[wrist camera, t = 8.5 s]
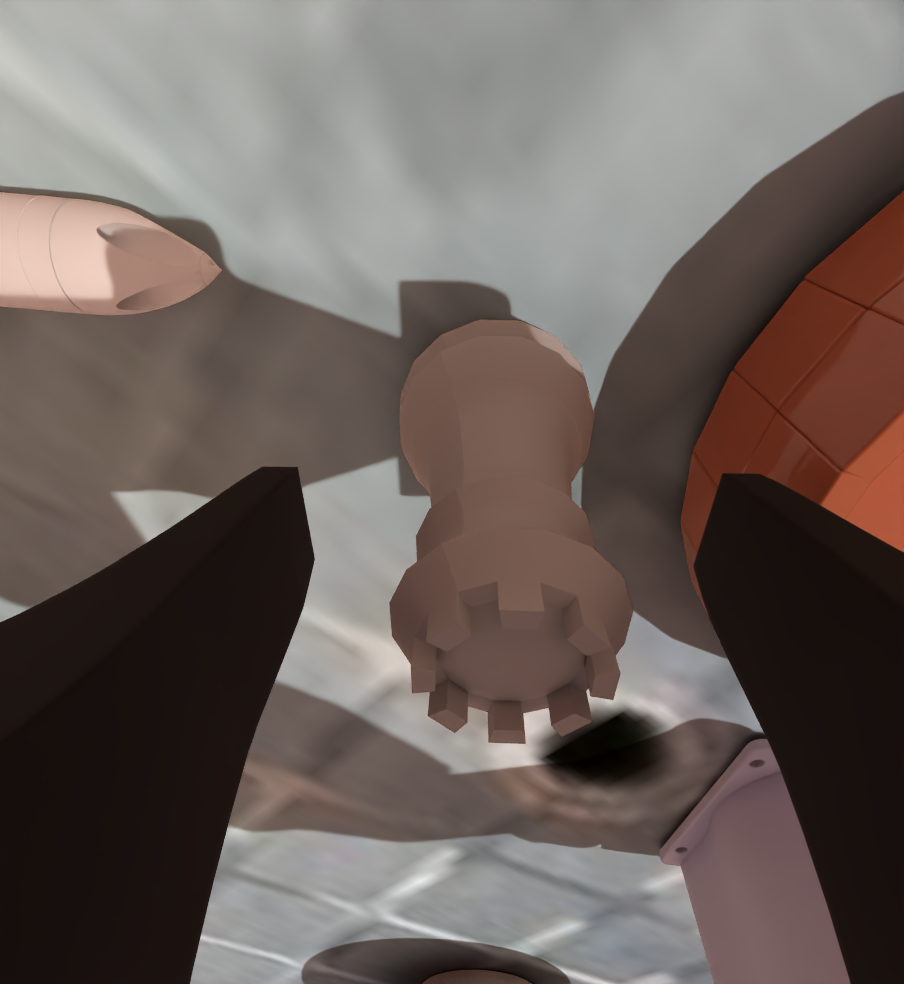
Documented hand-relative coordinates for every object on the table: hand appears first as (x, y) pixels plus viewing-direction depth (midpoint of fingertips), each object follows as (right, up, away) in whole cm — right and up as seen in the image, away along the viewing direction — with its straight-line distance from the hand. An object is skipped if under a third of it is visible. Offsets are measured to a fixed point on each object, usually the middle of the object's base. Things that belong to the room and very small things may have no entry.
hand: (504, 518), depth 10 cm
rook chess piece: (0, +3, +4) cm, 5 cm away
